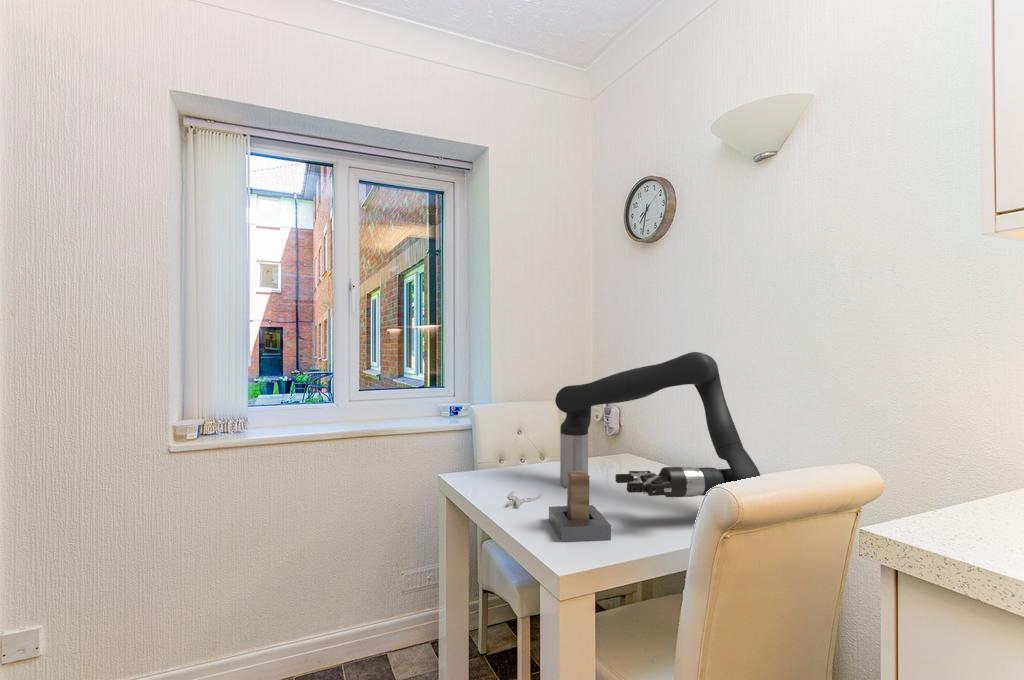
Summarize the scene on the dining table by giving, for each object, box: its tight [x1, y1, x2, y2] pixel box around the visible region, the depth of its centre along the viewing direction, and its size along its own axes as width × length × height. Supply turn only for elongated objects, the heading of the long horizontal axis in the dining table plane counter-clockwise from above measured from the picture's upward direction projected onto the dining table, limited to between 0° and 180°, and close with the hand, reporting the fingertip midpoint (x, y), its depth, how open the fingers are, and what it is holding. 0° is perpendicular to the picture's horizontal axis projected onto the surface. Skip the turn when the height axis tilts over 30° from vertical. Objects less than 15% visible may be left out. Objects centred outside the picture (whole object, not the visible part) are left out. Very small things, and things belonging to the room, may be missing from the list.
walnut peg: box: [566, 471, 590, 520], centre depth 122 cm, size 4×4×14 cm
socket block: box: [548, 504, 612, 543], centre depth 122 cm, size 15×12×4 cm
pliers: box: [506, 490, 542, 510], centre depth 145 cm, size 10×2×15 cm
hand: (621, 483), depth 124 cm, fingers open, 8 cm apart
